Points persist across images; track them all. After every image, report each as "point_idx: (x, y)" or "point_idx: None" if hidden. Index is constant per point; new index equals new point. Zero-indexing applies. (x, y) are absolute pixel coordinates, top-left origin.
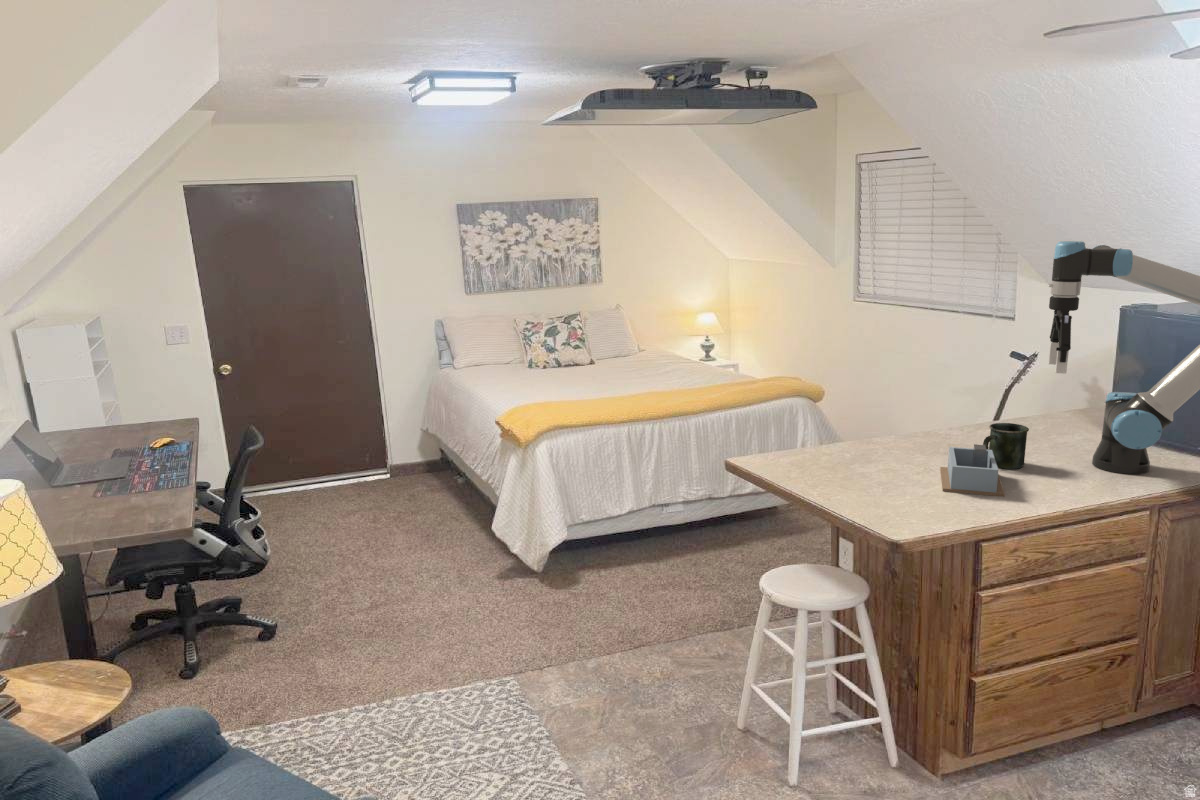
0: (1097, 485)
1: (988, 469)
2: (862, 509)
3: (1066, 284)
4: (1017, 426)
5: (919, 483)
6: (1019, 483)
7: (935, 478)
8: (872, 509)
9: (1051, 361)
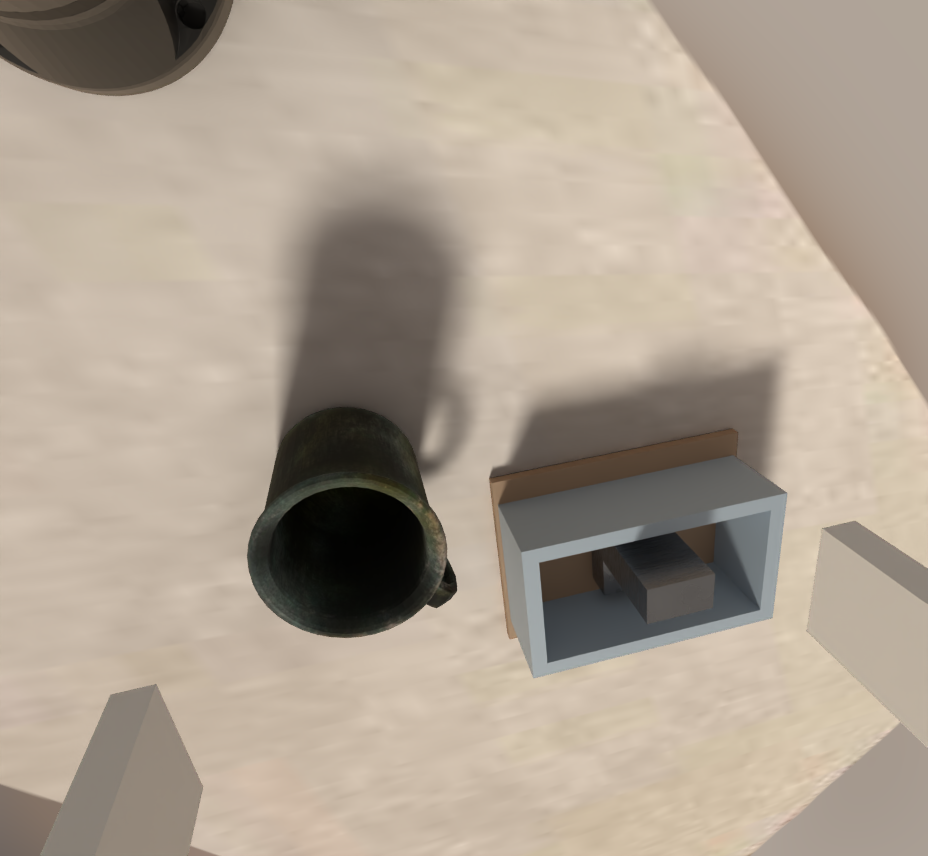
0: (501, 98)
1: (783, 521)
2: None
3: None
4: (273, 529)
5: None
6: (578, 398)
7: None
8: None
9: (179, 809)
